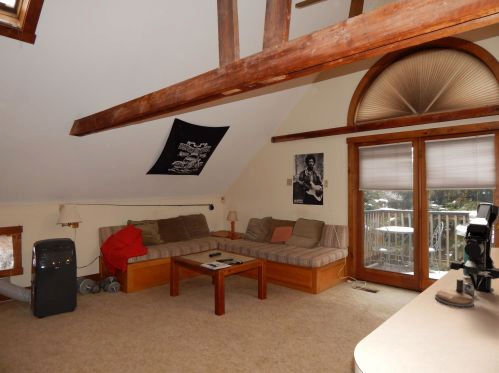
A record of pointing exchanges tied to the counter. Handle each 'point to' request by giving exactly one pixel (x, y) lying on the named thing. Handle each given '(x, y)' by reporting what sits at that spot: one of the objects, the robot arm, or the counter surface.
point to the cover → (468, 288)
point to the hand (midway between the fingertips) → (475, 289)
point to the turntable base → (454, 303)
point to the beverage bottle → (465, 259)
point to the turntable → (455, 295)
